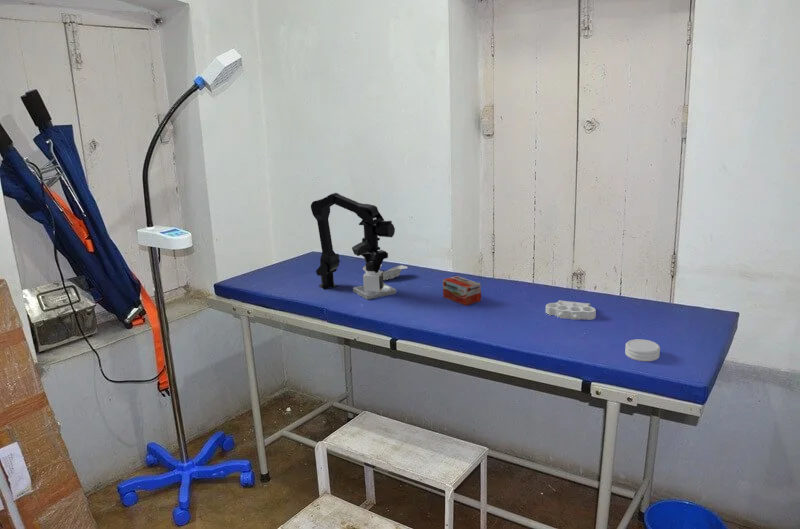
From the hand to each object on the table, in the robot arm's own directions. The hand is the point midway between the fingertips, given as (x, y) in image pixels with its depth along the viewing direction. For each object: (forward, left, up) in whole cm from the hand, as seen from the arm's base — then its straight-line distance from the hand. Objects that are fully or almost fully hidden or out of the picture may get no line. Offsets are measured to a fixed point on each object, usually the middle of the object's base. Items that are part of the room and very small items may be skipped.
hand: (373, 271), depth 254 cm
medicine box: (+30, +25, -10) cm, 40 cm away
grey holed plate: (+68, +48, -10) cm, 84 cm away
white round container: (+107, +39, -10) cm, 114 cm away
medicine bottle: (0, 0, -8) cm, 8 cm away
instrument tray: (0, 0, -10) cm, 10 cm away
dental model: (-19, +13, -10) cm, 25 cm away
